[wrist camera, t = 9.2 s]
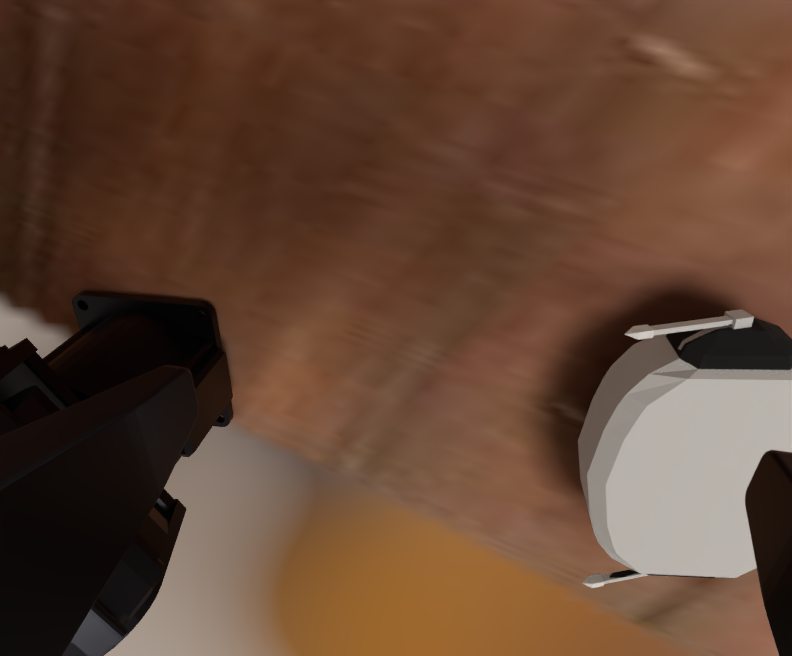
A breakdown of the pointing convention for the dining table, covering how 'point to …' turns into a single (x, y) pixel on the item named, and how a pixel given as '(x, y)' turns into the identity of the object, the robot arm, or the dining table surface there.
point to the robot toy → (684, 444)
